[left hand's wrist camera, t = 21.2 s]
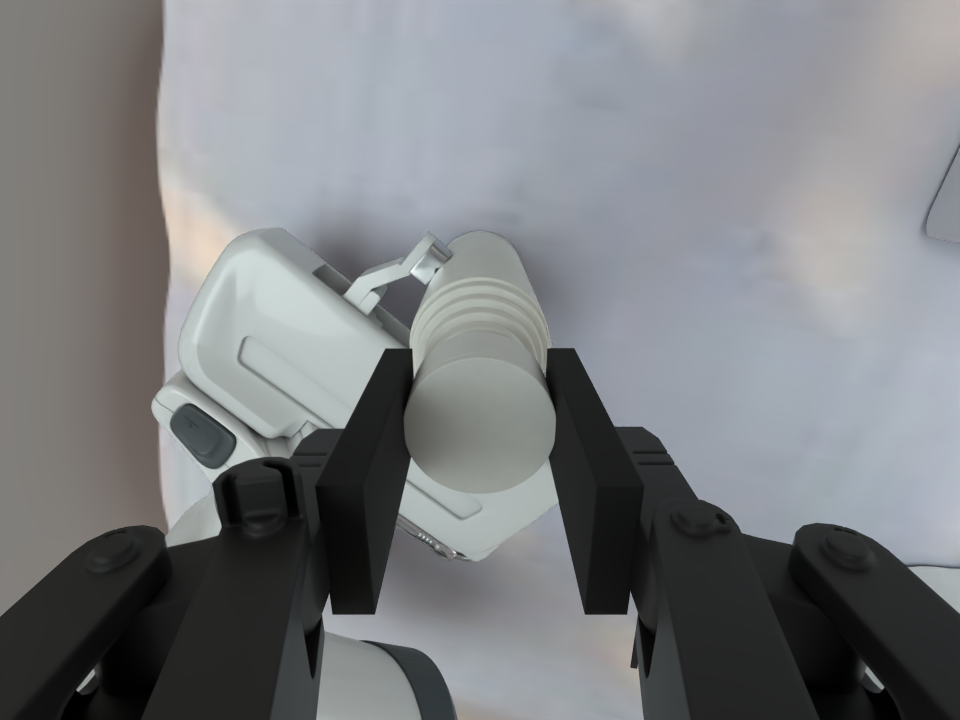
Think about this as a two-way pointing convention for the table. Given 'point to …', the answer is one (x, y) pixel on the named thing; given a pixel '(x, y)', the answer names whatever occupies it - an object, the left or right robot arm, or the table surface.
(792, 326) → the table surface
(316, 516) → the left robot arm
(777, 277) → the table surface
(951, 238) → the charger
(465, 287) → the bottle
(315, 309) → the right robot arm
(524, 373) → the cap
